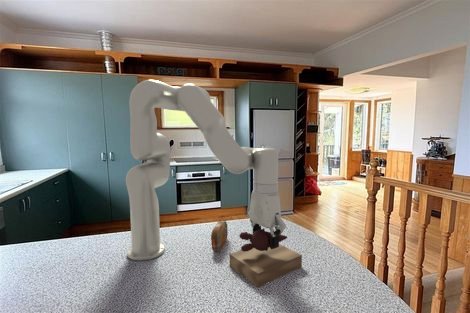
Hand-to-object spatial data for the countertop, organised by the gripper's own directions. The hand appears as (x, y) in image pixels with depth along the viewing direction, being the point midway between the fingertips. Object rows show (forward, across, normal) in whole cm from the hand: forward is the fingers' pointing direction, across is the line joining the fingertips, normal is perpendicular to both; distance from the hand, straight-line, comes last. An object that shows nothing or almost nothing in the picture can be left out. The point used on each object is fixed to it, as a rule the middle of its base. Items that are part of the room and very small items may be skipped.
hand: (265, 242), depth 80 cm
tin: (+8, -21, -4) cm, 23 cm away
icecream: (+2, 0, -1) cm, 2 cm away
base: (+8, 0, 0) cm, 8 cm away
